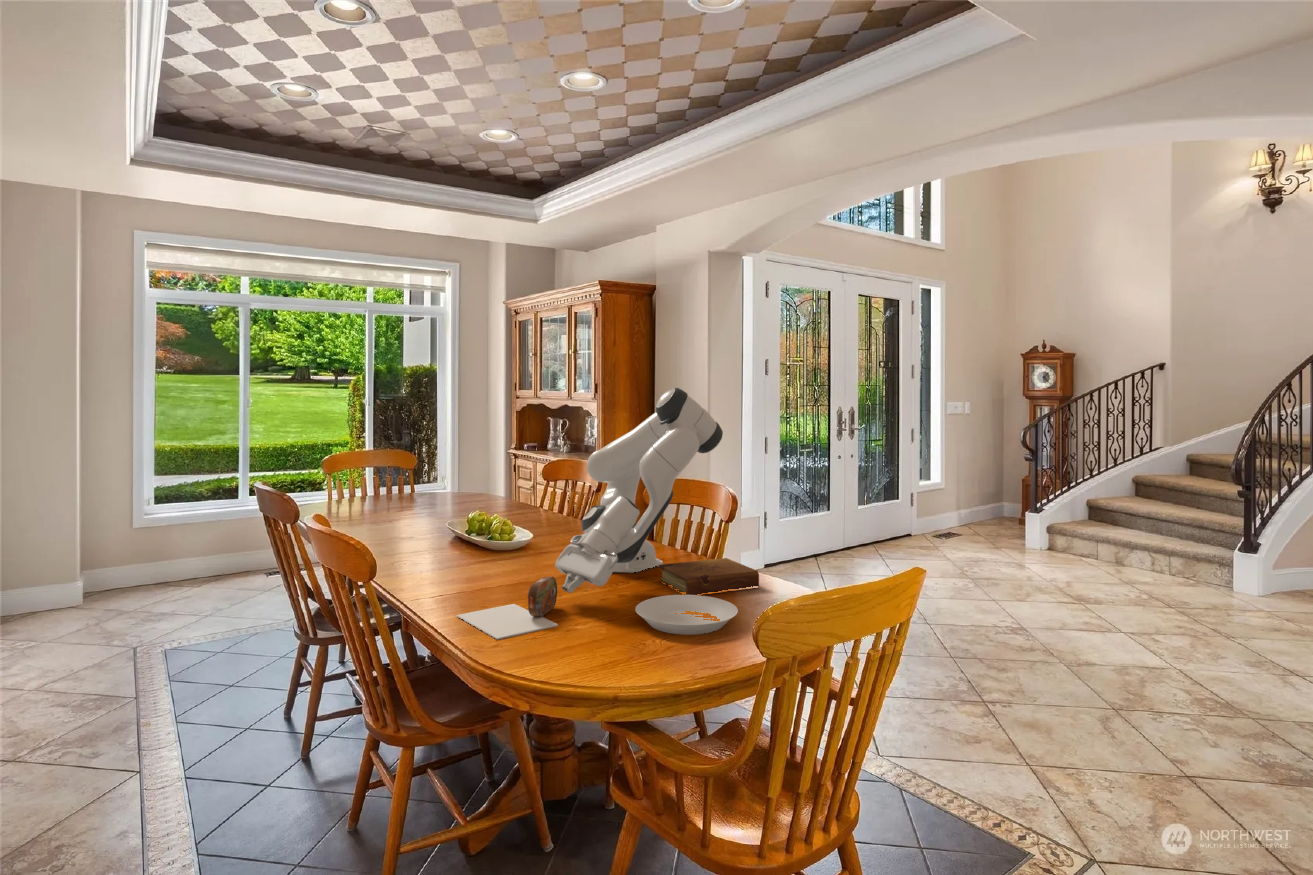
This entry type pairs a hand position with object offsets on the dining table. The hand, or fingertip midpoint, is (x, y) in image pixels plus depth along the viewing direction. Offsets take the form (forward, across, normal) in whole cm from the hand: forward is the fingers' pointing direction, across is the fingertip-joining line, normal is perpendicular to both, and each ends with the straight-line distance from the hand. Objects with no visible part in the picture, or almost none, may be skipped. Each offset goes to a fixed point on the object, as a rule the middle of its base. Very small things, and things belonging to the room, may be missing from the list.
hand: (566, 590), depth 186 cm
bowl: (-8, -28, -16) cm, 33 cm away
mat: (+15, +1, +9) cm, 18 cm away
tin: (+8, 0, +2) cm, 8 cm away
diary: (-28, -6, -36) cm, 46 cm away
